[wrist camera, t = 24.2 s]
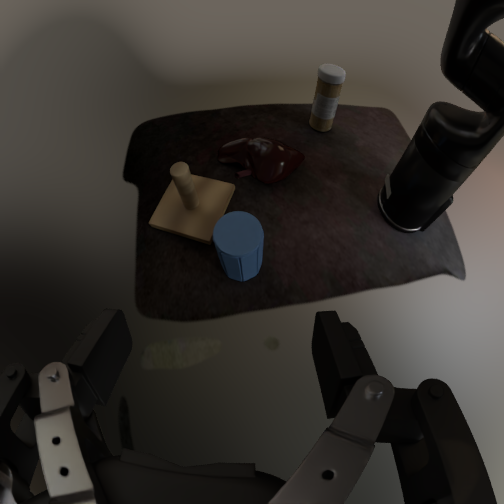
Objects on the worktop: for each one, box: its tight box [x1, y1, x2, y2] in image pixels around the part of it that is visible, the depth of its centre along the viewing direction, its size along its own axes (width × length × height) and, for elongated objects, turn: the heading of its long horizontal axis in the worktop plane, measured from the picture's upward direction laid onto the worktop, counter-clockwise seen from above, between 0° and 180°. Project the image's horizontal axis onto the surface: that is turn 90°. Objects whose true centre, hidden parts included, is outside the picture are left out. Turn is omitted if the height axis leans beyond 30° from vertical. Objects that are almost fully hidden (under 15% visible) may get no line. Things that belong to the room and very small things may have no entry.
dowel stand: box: [149, 162, 235, 245], centre depth 36 cm, size 10×10×9 cm
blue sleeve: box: [213, 211, 264, 282], centre depth 33 cm, size 5×5×9 cm
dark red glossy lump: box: [218, 137, 305, 184], centre depth 42 cm, size 6×12×11 cm
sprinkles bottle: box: [309, 64, 346, 132], centre depth 41 cm, size 5×5×14 cm
